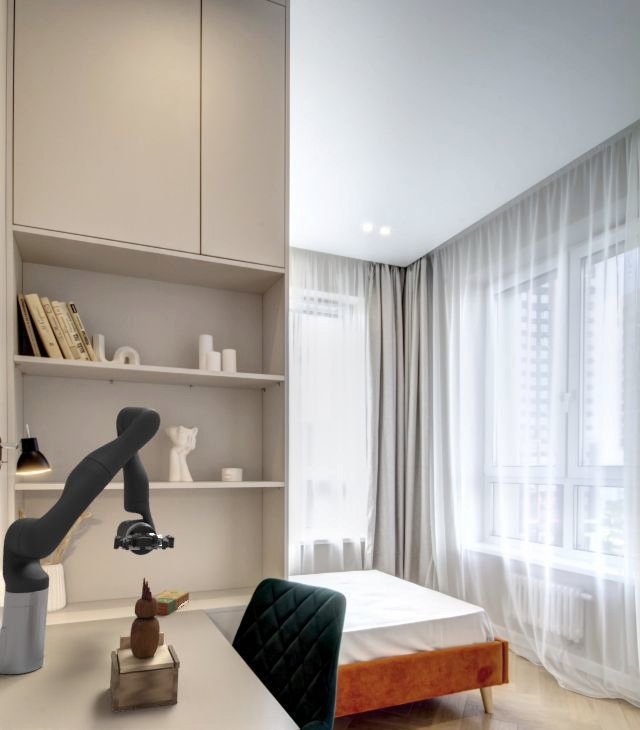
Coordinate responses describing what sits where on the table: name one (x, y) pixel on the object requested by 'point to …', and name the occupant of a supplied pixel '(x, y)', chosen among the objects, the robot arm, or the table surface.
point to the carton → (170, 601)
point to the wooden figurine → (145, 625)
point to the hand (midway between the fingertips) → (146, 545)
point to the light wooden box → (143, 685)
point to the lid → (138, 664)
